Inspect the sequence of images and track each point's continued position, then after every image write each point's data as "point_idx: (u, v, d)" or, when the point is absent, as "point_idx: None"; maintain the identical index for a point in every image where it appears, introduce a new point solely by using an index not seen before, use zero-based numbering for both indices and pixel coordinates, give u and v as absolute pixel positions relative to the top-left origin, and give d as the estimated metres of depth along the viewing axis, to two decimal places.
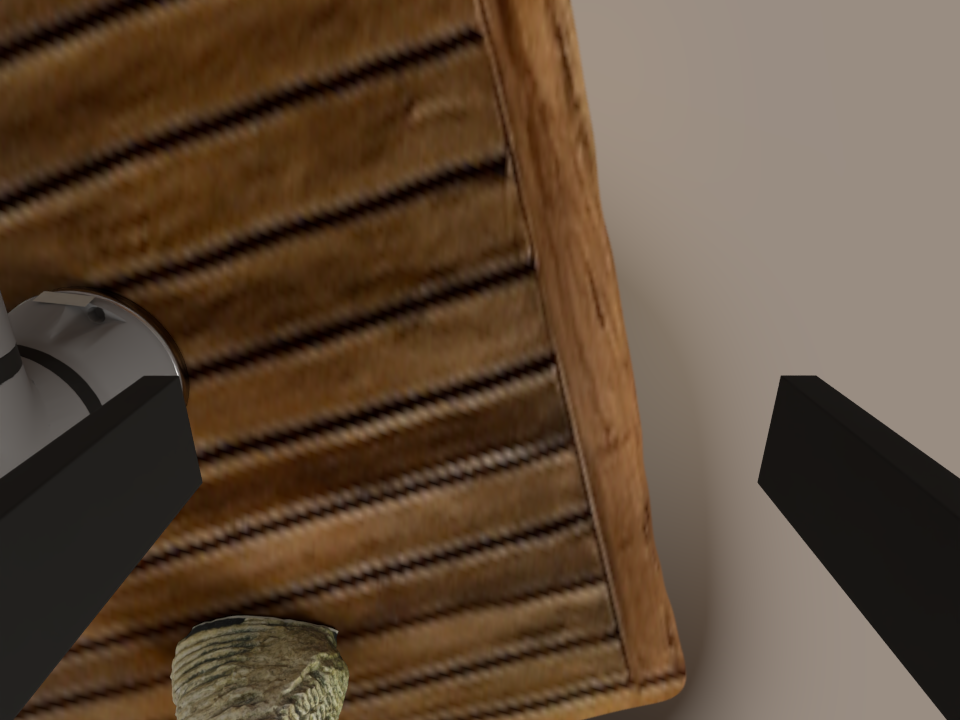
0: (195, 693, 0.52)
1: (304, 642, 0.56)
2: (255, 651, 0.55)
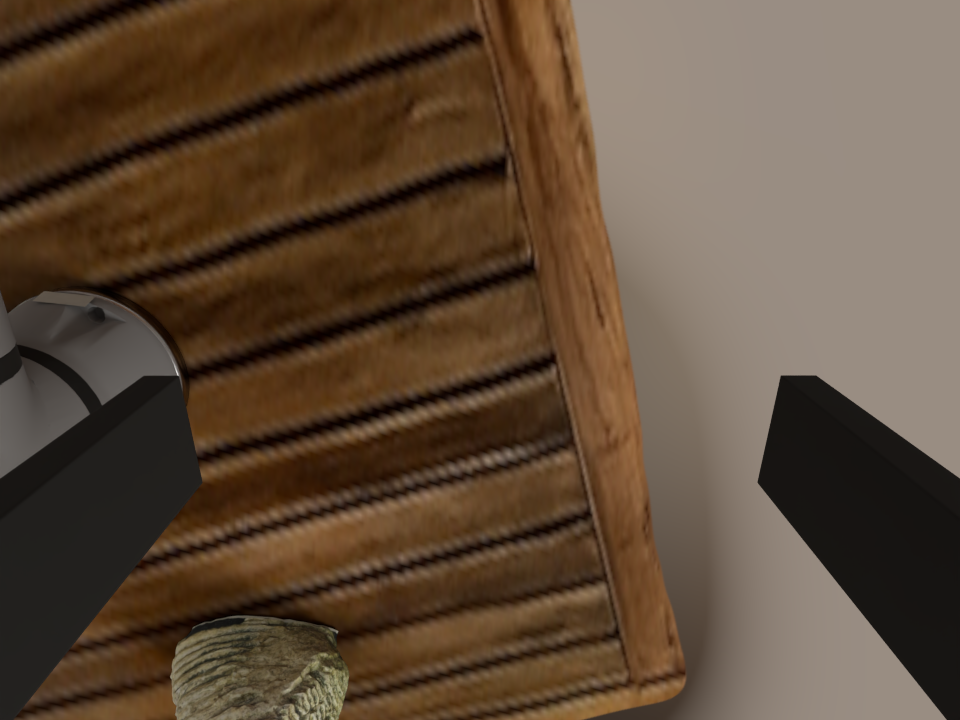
0: (195, 693, 0.52)
1: (304, 642, 0.56)
2: (255, 651, 0.55)
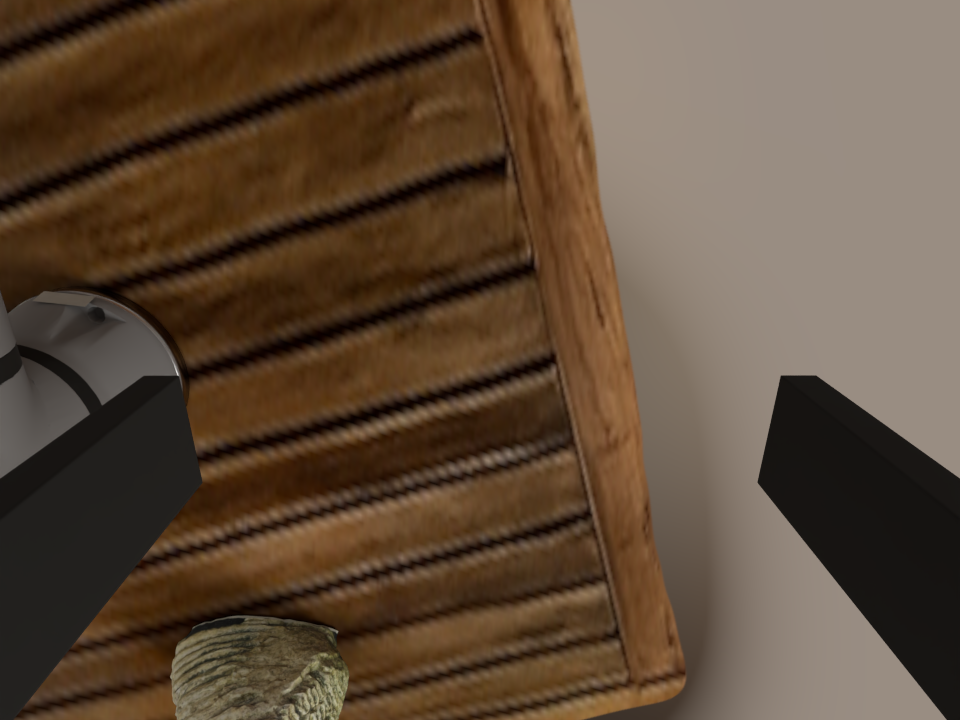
0: (195, 693, 0.52)
1: (304, 642, 0.56)
2: (255, 651, 0.55)
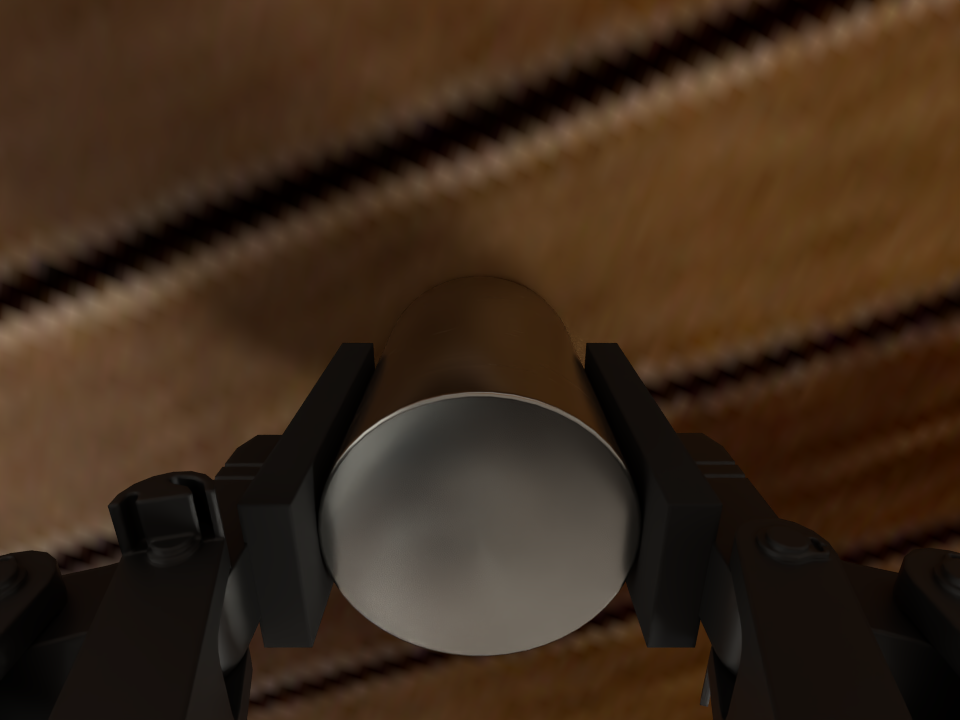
0: None
1: None
2: None
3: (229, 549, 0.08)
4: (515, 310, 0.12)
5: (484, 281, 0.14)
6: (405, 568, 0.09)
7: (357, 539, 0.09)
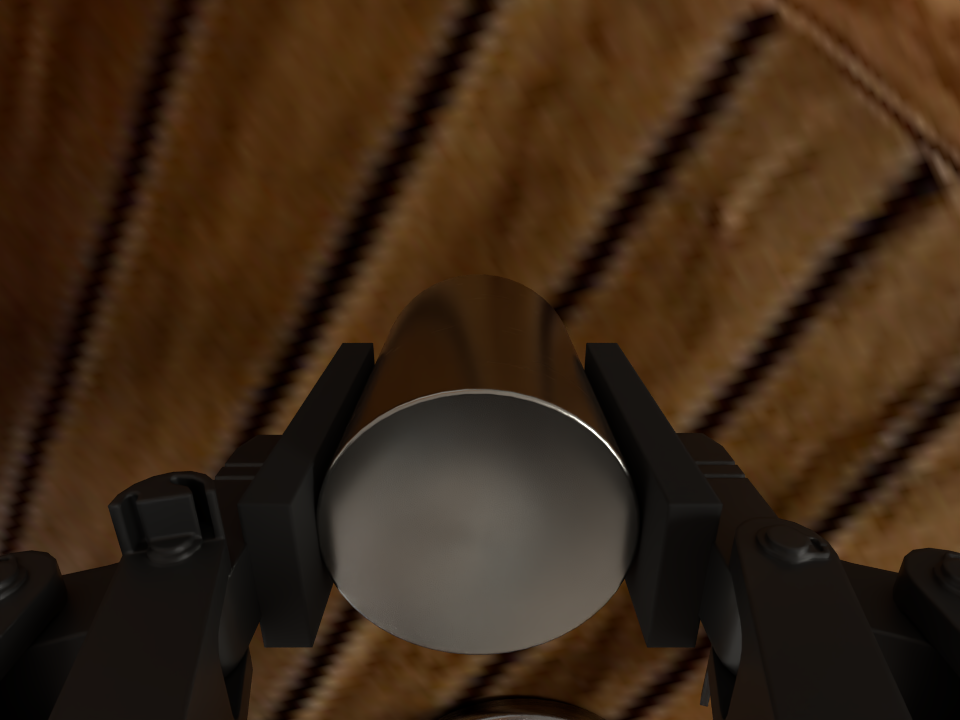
0: None
1: None
2: None
3: (229, 549, 0.08)
4: (515, 308, 0.12)
5: (483, 279, 0.14)
6: (403, 566, 0.09)
7: (355, 537, 0.09)
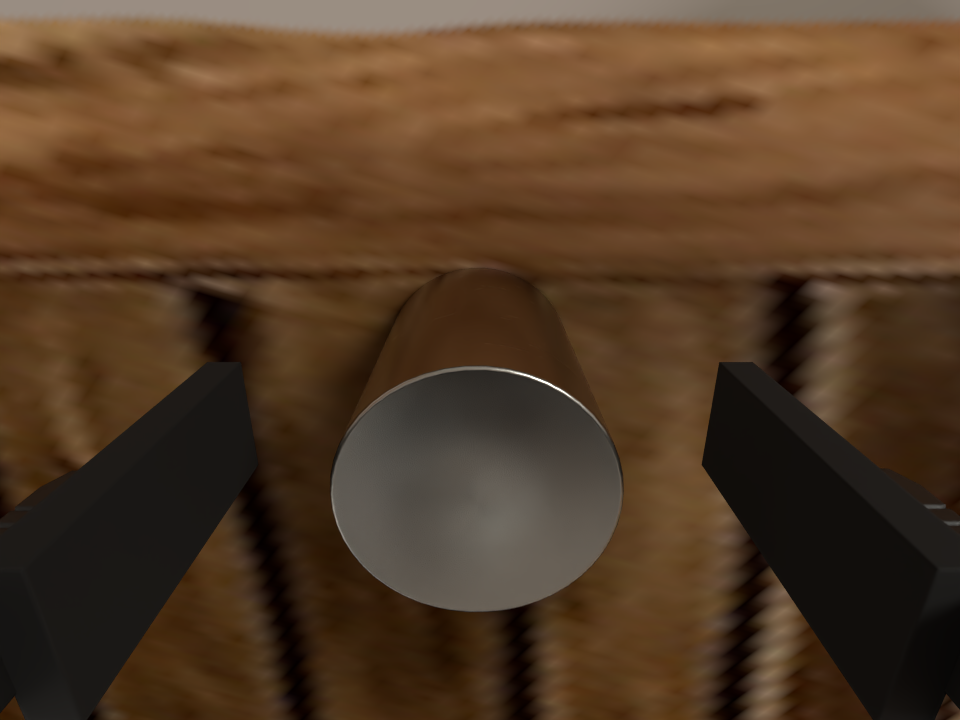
0: None
1: None
2: None
3: None
4: (511, 297, 0.13)
5: (482, 272, 0.15)
6: (409, 529, 0.10)
7: (366, 502, 0.10)
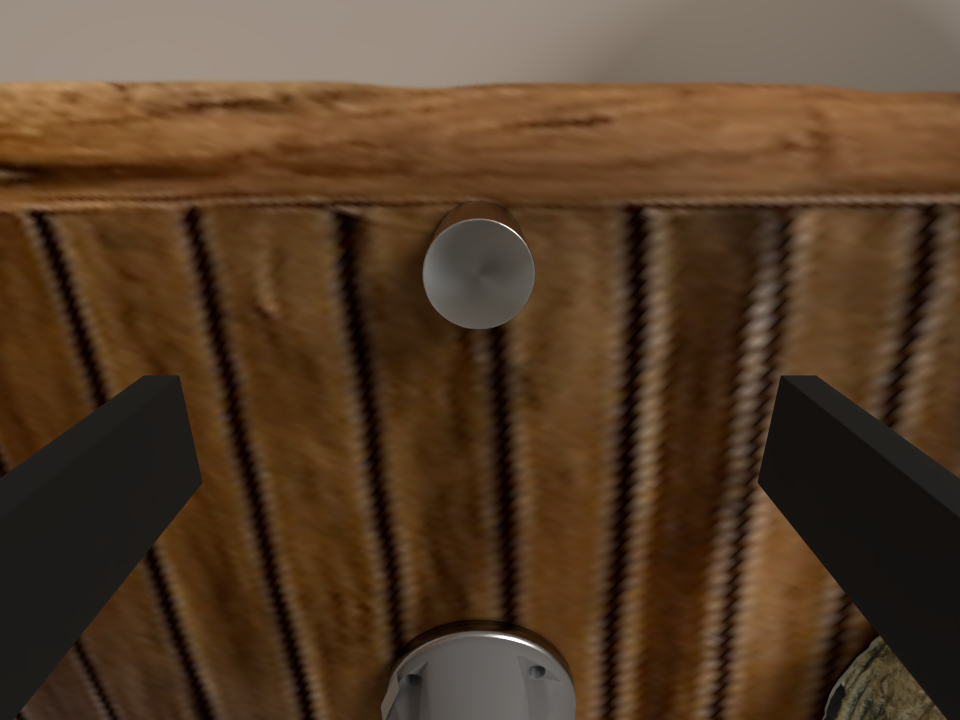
0: None
1: None
2: (890, 712, 0.40)
3: None
4: (494, 208, 0.29)
5: (481, 201, 0.31)
6: (452, 288, 0.26)
7: (436, 276, 0.26)
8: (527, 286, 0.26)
